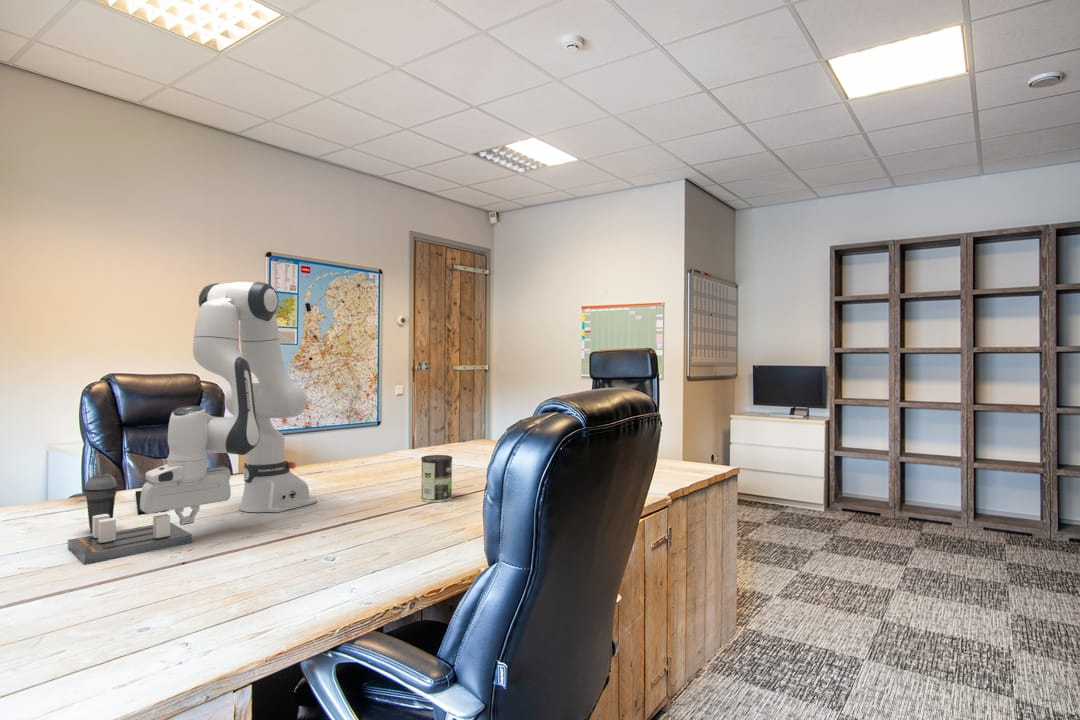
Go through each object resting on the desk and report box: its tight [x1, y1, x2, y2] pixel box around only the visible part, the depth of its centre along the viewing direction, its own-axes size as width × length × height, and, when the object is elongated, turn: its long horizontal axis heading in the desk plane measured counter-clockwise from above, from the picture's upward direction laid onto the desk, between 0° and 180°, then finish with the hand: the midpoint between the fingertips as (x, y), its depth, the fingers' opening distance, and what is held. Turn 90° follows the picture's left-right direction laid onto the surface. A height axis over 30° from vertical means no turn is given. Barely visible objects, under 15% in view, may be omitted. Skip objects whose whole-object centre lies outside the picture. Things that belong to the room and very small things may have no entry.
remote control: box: [135, 490, 170, 516], centre depth 190 cm, size 8×32×2 cm, turn 36°
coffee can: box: [420, 454, 453, 503], centre depth 199 cm, size 10×10×14 cm
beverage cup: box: [83, 456, 119, 534], centre depth 158 cm, size 7×7×20 cm
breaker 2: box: [98, 517, 117, 543], centre depth 143 cm, size 3×2×5 cm
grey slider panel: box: [67, 521, 193, 565], centre depth 147 cm, size 22×17×2 cm
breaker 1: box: [91, 514, 110, 538], centre depth 147 cm, size 3×2×5 cm
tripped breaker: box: [152, 513, 171, 538], centre depth 147 cm, size 3×2×5 cm
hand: (187, 524), depth 151 cm, fingers closed
